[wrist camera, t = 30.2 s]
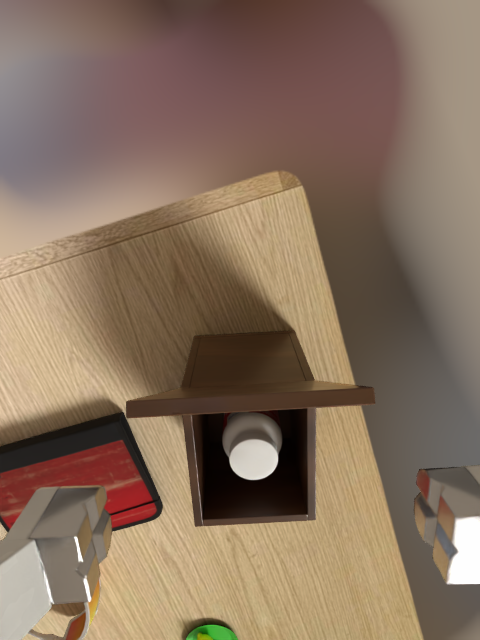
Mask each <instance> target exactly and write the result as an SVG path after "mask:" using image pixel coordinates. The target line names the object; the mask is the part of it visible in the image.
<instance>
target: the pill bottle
mask: <svg viewBox="0 0 480 640" xmlns="http://www.w3.org/2000/svg"><path fill="white" fill-rule="evenodd" d="M222 442H223V448H224V451H225V453H226V454H227V456H228V457H229V462H230V466H231V468H232V470H233V471H234V472H235V473H236V474H237V475H238V476H240V477H242V478H245V479H248V480H259V479H262V478H265V477H267V476H268V475H270V474H271V473H272V472H273V471H274V470H275V468H276V466H277V464H278V453H279V451H280V449H281V446H282V432H281V426H280V421H279V415H278V410H267V411H249V412H231V413H224V417H223V435H222Z"/></svg>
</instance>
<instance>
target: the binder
mask: <svg viewBox="0 0 480 640" xmlns="http://www.w3.org/2000/svg"><path fill="white" fill-rule="evenodd" d="M88 485H102V486H103V487H105V490H106V495H107V501H106V504H105V506H104V509H106V510H107V511H108V512H109V513H110V515H111V521H112V531H116V530H120V529H124V528H128V527H131V526H135V525H138V524H142V523H146V522H149V521H152V520H154V519H156V518H157V517H159V516H160V514H161V512H162V508H163V505H162V502H161V499H160V496H159V495H158V492H157V489H156V487H155V485H154V482H153V480H152V478H151V476H150V474H149V471H148V469H147V467H146V464H145V462H144V460H143V457H142V455H141V452H140V450H139V448H138V446H137V443H136V441H135V438H134V436H133V434H132V431H131V429H130V426H129V424H128V422H127V420H126V418H125V415H124V413H123V412H120V413H117V414H114V415H110V416H106V417H103V418H99V419H95V420H91V421H88V422H84V423H81V424H78V425H74V426H70V427H67V428H63V429H60V430H56V431H53V432H49V433H45V434H42V435H39V436H35V437H32V438H29V439H25V440H22V441H18V442H15V443H11V444H8V445H5V446H1V447H0V522H1V524H2V525H3V527H4V528H5V529H6V531H7V532H9V531H10V529H11V527H12V526H13V524H14V523H15V521H16V520H17V518H18V517H19V515H20V514H21V512H22V511H23V509H24V508H25V506H26V505H27V503H28V502H29V500H30V499H31V497H32V496H33V494H34V493H35V491H36V490H38V489H39V488H41V487H62V486H88Z"/></svg>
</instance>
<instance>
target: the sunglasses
mask: <svg viewBox="0 0 480 640" xmlns="http://www.w3.org/2000/svg"><path fill="white" fill-rule="evenodd" d="M100 589H101V586H100V577H99V580H98V583H97V585H96V588H95V591H94V594H93V597H92V600H91V602H84V605H85V610H84V611H83V612H81V613H80V614H79V615H77V616H76V617H74V618H73V619H71V620H70V621H69V624H68V627H67V629H66V632H65V634H64V637H58V636H56V635H53V634H42V633H38V632H36V631H34V630H32V629H31V630H30V631H29V632H28V634H30V635H33V636H35V637H37V638H39V639H41V640H83V639H84V637H85V635H86V634H87V631H88V628H89V627H90V624H91V622H92V620H93V617H94V615H96V614H97V611H98V607H99V601H100Z"/></svg>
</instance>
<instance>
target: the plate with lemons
mask: <svg viewBox="0 0 480 640" xmlns="http://www.w3.org/2000/svg"><path fill="white" fill-rule="evenodd" d="M186 640H238V639H237V637H236V635H235V634H234V633H233V632H232V631H231V630H229V629H227V628H225V627H222V626H218V625H205V626H201V627H198V628H196V629H194V630H193V631H192V632H191V633H190V634H189V635H188V636H187V638H186Z"/></svg>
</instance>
